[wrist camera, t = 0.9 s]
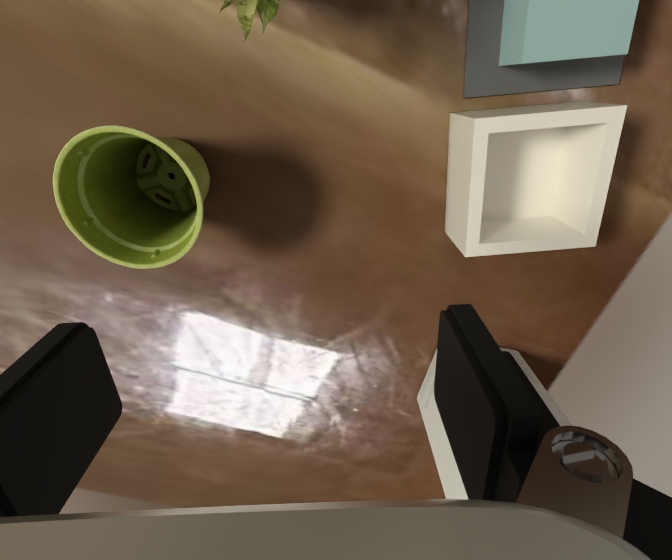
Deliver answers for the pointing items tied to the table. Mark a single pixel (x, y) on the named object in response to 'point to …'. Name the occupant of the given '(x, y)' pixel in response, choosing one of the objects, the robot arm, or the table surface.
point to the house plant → (246, 8)
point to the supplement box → (438, 435)
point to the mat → (520, 78)
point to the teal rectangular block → (565, 29)
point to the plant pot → (131, 195)
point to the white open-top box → (530, 176)
